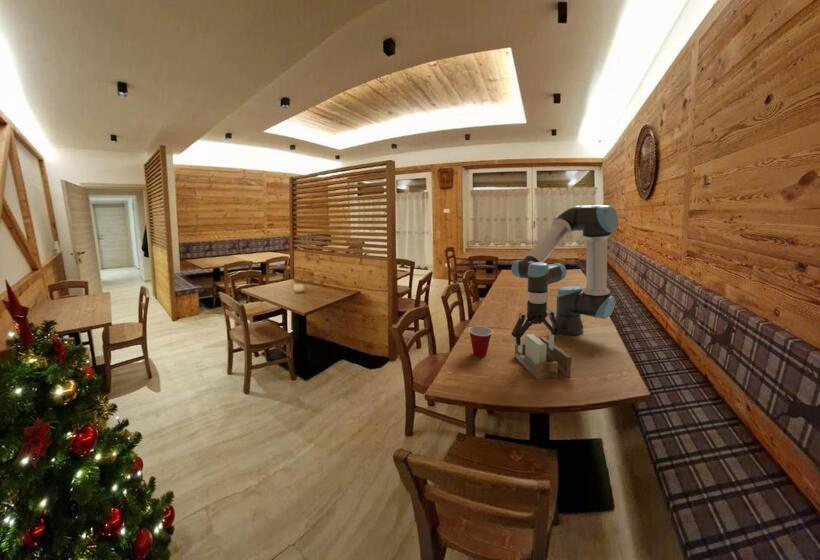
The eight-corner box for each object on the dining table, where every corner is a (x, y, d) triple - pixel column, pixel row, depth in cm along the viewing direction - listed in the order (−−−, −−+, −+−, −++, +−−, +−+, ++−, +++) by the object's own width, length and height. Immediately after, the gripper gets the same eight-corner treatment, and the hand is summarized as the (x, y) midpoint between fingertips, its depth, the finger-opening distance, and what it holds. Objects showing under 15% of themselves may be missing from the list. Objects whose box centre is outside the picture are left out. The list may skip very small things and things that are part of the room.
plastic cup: (486, 361, 151) (486, 335, 148) (464, 356, 157) (464, 331, 154) (496, 352, 159) (496, 328, 156) (474, 347, 165) (474, 324, 163)
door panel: (531, 359, 151) (532, 333, 148) (545, 372, 139) (546, 344, 136) (524, 360, 150) (525, 334, 148) (538, 373, 139) (539, 345, 136)
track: (542, 353, 156) (543, 336, 154) (570, 376, 135) (571, 357, 133) (514, 356, 155) (514, 339, 153) (537, 379, 134) (538, 360, 132)
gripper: (561, 296, 144) (558, 343, 148) (503, 301, 141) (503, 349, 145) (571, 301, 136) (569, 350, 141) (511, 306, 133) (510, 357, 138)
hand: (535, 350), depth 143 cm, fingers open, 13 cm apart
